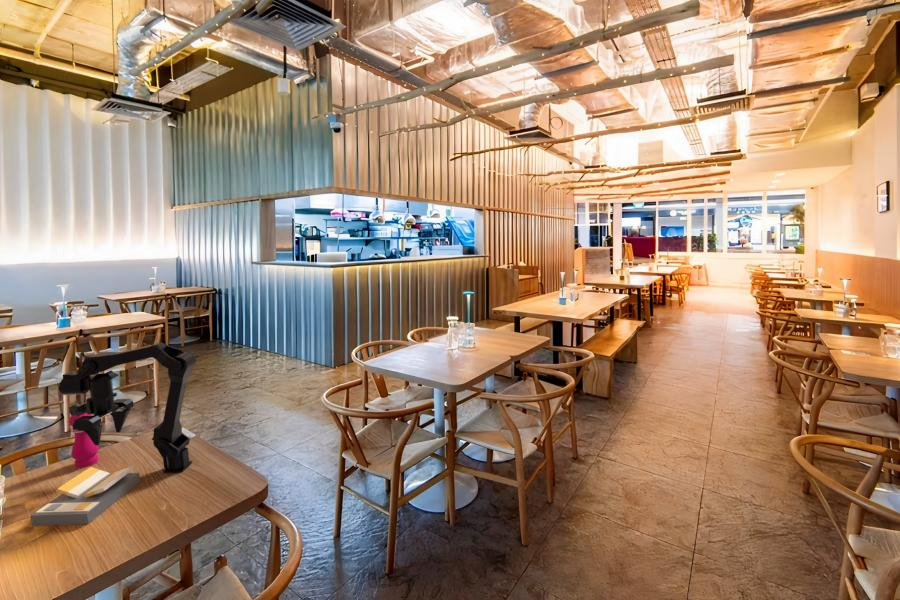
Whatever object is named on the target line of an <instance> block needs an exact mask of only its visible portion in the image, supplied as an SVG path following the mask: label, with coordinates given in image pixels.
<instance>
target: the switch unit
mask: <svg viewBox="0 0 900 600" xmlns="http://www.w3.org/2000/svg"><path fill="white" fill-rule="evenodd" d="M112 474H113V473H110V474H109V476H108V477H110V476H111V475H112ZM140 476H141V475H140V472H129V473H128V474H126V475H125V476H124V477H122V478H121V479H120V480H118V481H117V482H116V483H114V484H113V485H112V486H110V487H109V488H108V489H106V490H105V491H103V492H100V493H97V494H95V495H92V496H90V497H87V498H85V496H84V495H85V494H86V493H87V492H89V491H90V490H92V489H93V488H94V487H96V486H97V485H99V484H100V483H101V482H103V481H104V480H105V479H107V478H108V477H106V478H105V479H103V480H102V481H101V482H99V483H98V484H96V485H95V486H94V487H92V488H91V489H89V490H88V491H87V492H85V493H84V494H82V495H81V496H80V497H78V498H74V497H71V496H68V495H65V494H62V493H60V495H58V496H57V497H55V498H54V499H53V500H51V501H49V502H48V503H47V504H44V506H42V507H41V508H40V509H38V510H36V511H35V512H32V513H31V514H30V522H31V526H33V527H34V526H61V525H62V526H63V525H64V526H66V525H69V526H71V525H90V523H92V522H93V521H94V520H95V519H97V517H99V516H100V515H101V514H102V513H104V512H105V511H107V509H109V508H110V507H111V506H112V505H113V504H114V505H115V503H116V502H118V501H119V500H120V499H121V498H123V497H124V496H125V495H126V494H127V493H129V491H131V490H132V489H134V488H135V487H136V486H137V485H138V484H139V483H141V477H140Z"/></svg>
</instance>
